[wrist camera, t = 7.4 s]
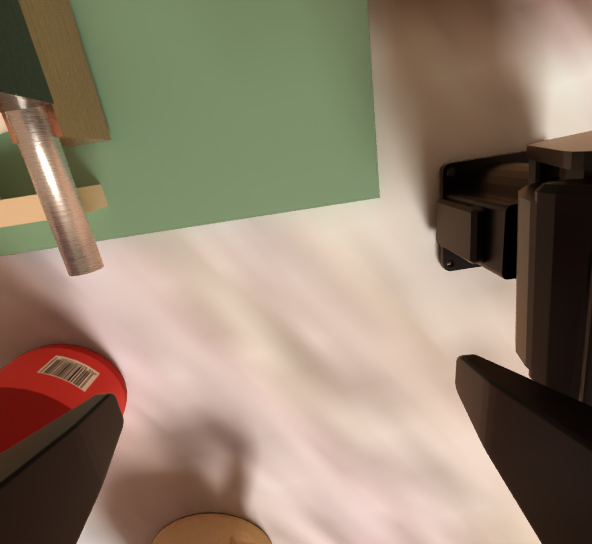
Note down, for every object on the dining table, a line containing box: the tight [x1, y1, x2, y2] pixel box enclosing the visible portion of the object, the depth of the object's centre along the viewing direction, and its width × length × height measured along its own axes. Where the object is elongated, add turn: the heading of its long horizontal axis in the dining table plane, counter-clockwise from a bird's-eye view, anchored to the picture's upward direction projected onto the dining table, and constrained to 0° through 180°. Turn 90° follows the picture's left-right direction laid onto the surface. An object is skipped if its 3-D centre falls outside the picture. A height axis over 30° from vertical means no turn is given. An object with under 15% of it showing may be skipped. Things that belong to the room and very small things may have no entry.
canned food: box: [0, 344, 127, 454], centre depth 18 cm, size 8×8×11 cm
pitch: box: [0, 0, 380, 256], centre depth 16 cm, size 22×16×4 cm
